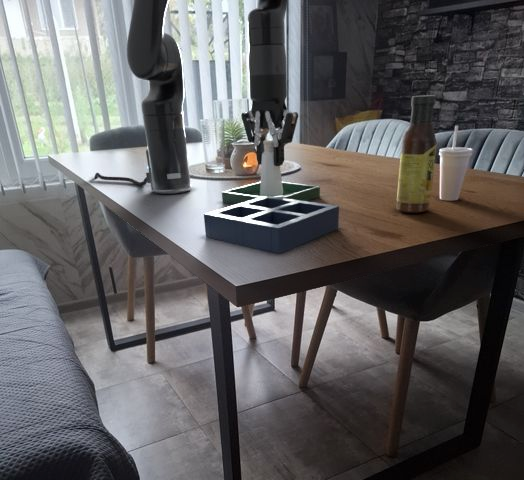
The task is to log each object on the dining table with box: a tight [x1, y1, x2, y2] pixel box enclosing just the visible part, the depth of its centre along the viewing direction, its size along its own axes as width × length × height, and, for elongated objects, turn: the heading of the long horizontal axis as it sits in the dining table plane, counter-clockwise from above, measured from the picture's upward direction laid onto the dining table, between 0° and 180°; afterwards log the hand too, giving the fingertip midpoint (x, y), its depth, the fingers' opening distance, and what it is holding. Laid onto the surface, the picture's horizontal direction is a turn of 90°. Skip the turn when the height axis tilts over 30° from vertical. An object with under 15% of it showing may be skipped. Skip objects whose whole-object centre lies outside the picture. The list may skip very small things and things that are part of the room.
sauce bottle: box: [396, 94, 438, 214], centre depth 89 cm, size 7×6×20 cm
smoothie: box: [438, 125, 474, 202], centre depth 98 cm, size 6×6×14 cm
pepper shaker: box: [259, 139, 283, 196], centre depth 104 cm, size 5×5×11 cm
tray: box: [221, 181, 321, 205], centre depth 107 cm, size 15×15×2 cm
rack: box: [203, 196, 340, 255], centre depth 83 cm, size 16×16×4 cm
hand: (270, 164), depth 104 cm, fingers closed on pepper shaker, 4 cm apart
